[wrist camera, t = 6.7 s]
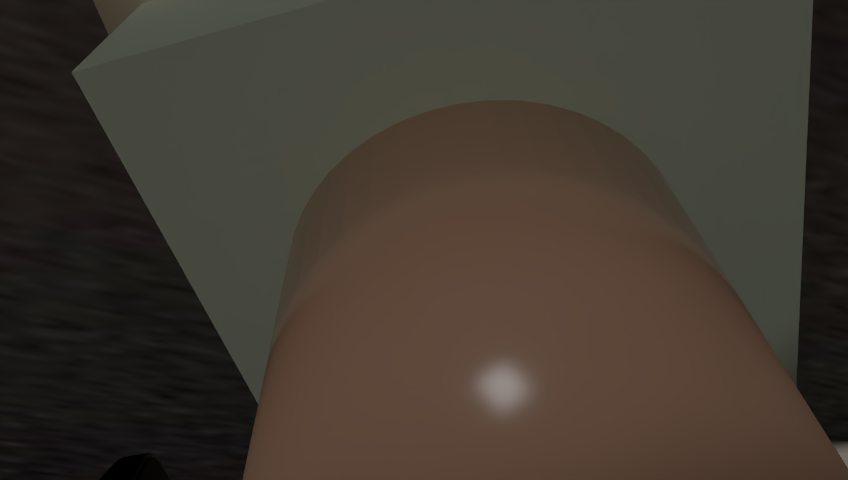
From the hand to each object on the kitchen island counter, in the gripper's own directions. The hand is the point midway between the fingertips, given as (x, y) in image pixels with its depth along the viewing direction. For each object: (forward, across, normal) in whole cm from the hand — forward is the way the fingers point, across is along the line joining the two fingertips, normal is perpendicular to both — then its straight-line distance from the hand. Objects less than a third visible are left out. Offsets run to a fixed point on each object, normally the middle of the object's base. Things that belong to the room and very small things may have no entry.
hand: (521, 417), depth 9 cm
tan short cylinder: (+3, 0, 0) cm, 3 cm away
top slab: (+6, 0, 0) cm, 6 cm away
